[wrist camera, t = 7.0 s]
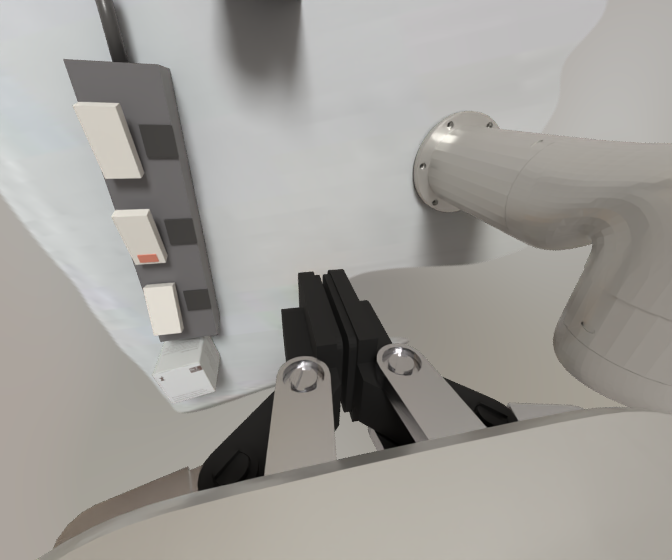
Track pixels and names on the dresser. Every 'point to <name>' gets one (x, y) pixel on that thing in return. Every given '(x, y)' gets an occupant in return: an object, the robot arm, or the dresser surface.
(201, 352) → the skincare box
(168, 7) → the dresser surface
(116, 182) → the power strip
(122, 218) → the block
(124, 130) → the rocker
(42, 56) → the dresser surface
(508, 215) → the robot arm
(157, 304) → the block
